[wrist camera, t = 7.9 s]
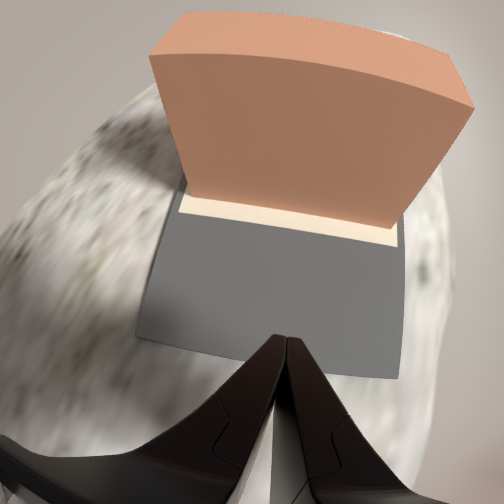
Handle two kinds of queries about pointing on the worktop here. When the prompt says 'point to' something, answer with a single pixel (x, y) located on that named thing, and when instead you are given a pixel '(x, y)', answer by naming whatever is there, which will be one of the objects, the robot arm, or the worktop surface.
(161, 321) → the mat
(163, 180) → the worktop surface
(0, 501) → the plastic bottle
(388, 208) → the t block
